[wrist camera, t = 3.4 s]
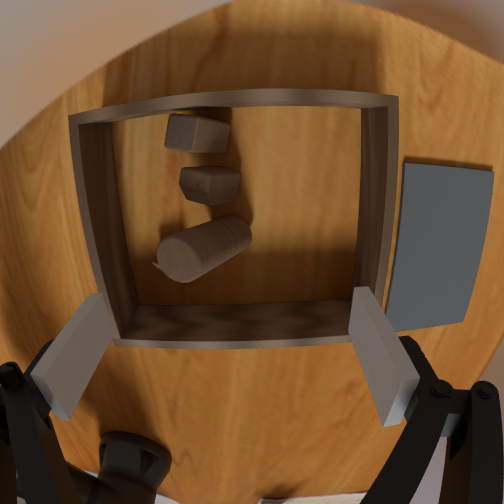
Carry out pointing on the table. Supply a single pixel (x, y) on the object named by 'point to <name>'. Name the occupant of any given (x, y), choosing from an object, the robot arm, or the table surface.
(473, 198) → the mat
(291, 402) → the table surface
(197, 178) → the wooden block set
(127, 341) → the crate
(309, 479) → the table surface
